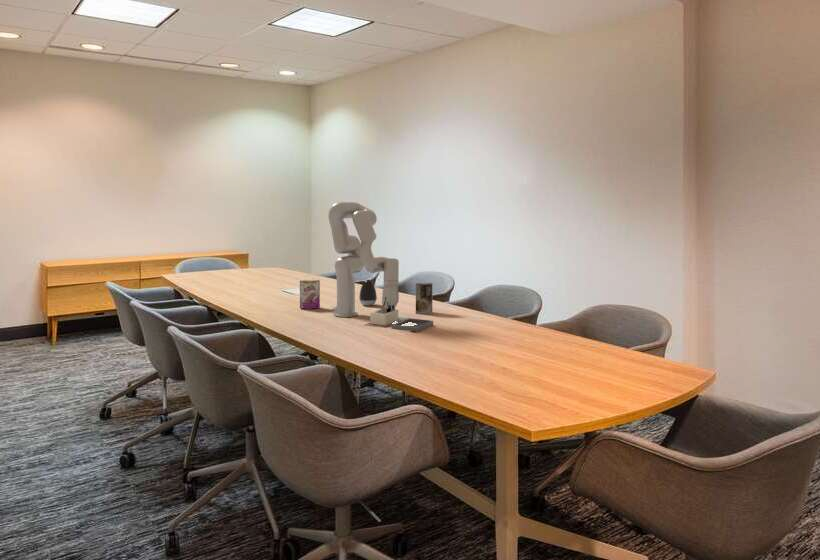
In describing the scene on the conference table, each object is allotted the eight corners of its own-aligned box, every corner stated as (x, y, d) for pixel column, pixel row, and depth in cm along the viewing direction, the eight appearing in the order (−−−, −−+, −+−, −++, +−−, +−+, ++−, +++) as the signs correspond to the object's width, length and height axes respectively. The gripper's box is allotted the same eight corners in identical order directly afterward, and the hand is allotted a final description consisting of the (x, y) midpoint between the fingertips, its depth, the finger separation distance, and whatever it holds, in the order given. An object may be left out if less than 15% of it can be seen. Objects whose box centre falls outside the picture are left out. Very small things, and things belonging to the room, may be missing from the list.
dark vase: (357, 304, 361) (357, 278, 358) (375, 303, 363) (374, 278, 361) (360, 307, 351) (360, 281, 349) (378, 306, 353) (378, 280, 351)
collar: (370, 323, 301) (370, 312, 300) (383, 318, 313) (383, 308, 312) (385, 325, 297) (385, 314, 296) (398, 320, 309) (398, 309, 309)
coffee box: (432, 311, 337) (433, 283, 335) (431, 314, 331) (432, 284, 329) (416, 311, 338) (416, 282, 336) (415, 313, 332) (415, 284, 330)
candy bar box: (299, 309, 343) (299, 280, 341) (300, 307, 348) (299, 279, 345) (320, 308, 344) (319, 280, 342) (320, 307, 349) (319, 279, 347)
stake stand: (362, 326, 298) (362, 310, 297) (379, 320, 313) (379, 304, 312) (386, 329, 292) (386, 312, 291) (402, 322, 308) (402, 307, 307)
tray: (391, 329, 291) (391, 325, 291) (408, 322, 308) (409, 318, 308) (416, 332, 285) (416, 327, 285) (433, 325, 302) (433, 320, 302)
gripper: (391, 280, 317) (391, 315, 319) (377, 284, 303) (376, 320, 305) (404, 281, 313) (404, 316, 316) (390, 285, 300) (390, 322, 302)
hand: (390, 318), depth 311 cm, fingers closed on collar, 1 cm apart
